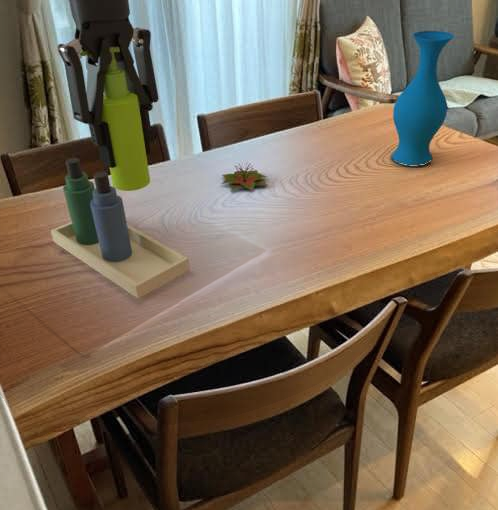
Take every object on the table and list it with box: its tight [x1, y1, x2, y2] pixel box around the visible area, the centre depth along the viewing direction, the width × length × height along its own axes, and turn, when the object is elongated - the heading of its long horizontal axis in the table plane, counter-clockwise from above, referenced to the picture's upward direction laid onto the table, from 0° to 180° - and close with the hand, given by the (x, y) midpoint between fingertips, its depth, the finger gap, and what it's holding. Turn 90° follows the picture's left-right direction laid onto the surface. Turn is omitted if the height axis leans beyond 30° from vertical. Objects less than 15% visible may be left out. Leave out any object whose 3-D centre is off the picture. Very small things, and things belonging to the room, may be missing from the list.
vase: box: [391, 30, 455, 168], centre depth 125 cm, size 12×13×28 cm
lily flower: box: [220, 162, 269, 192], centre depth 125 cm, size 12×12×5 cm
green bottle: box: [62, 157, 99, 245], centre depth 102 cm, size 6×6×16 cm
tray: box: [50, 221, 190, 299], centre depth 101 cm, size 28×12×3 cm, turn 46°
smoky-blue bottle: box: [90, 171, 132, 262], centre depth 97 cm, size 6×6×16 cm
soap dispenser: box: [80, 46, 151, 192], centre depth 79 cm, size 6×7×20 cm
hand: (126, 158), depth 83 cm, fingers closed on soap dispenser, 6 cm apart
